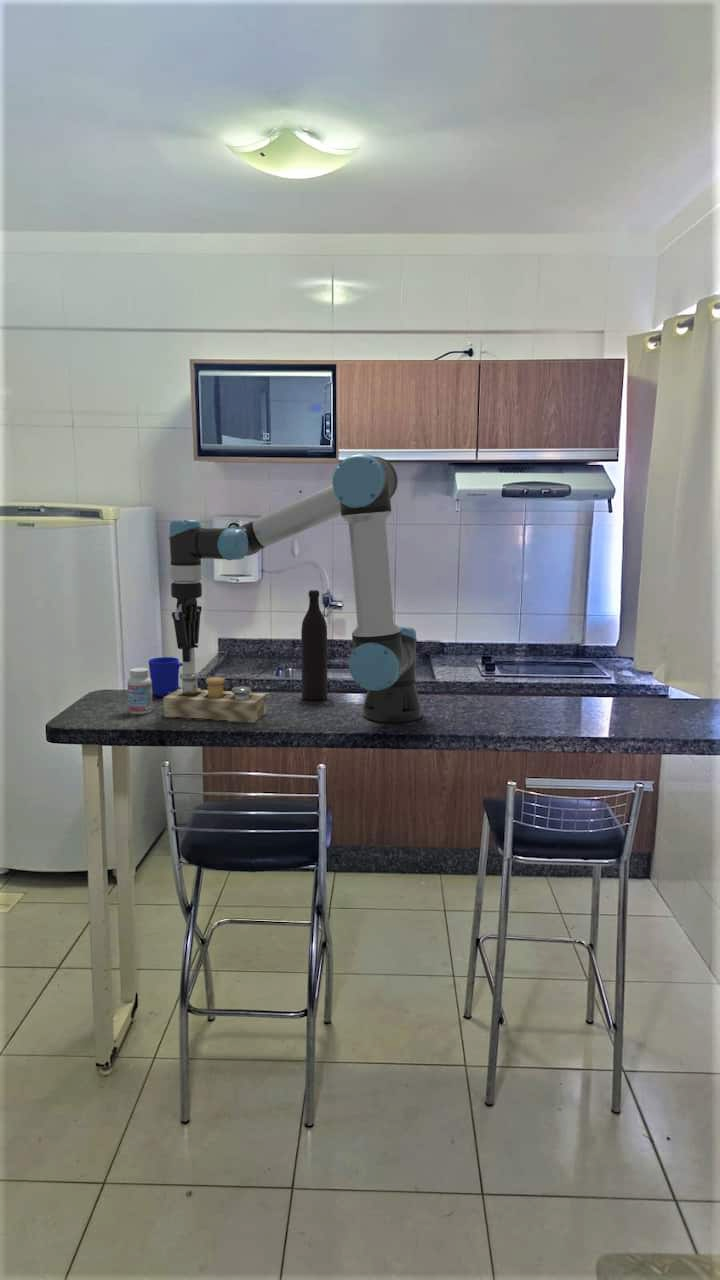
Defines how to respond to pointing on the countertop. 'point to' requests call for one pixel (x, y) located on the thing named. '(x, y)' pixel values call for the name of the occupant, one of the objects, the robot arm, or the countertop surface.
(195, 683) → the salt shaker
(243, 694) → the glass spice jar
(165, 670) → the mug
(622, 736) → the countertop surface
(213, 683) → the tan cylinder
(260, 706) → the wooden spice rack
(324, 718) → the countertop surface
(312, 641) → the wine bottle
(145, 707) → the pill bottle
